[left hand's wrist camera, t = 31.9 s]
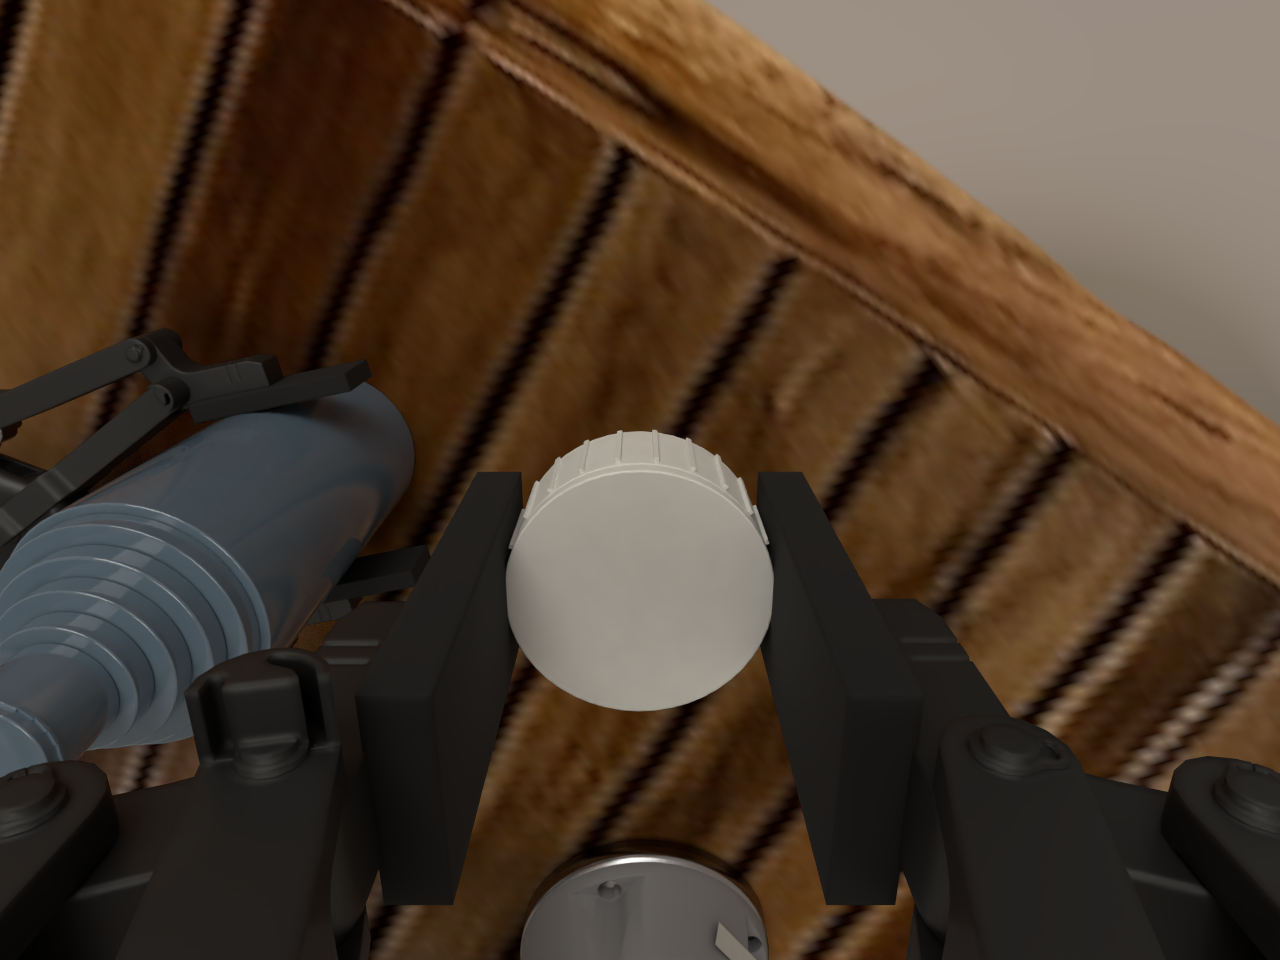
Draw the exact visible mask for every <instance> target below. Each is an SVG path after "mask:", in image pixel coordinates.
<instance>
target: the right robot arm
mask: <svg viewBox="0 0 1280 960" xmlns="http://www.w3.org/2000/svg"><path fill="white" fill-rule="evenodd" d="M139 371H141V373H142V374H143V375H144V376H145V377H146V379H147V380H148V381H149V382H150V383H151V385H150V386H148V387H146V388H147V389H149V390H147V391H146V392H145V393H144V394H142V395H141V396H140V397H139V398H138V399H136V400H135V401H134V402H133V403H131V404H130V405H129V406H128V407H127V408H125V409H124V410H123V411H122V412H120V413H119V414H118V415H117V416H115V417H114V418H113V419H112V420H111V421H109V422H108V423H107V424H106V425H104V426H103V427H102V428H101V429H99V430H98V431H97V432H96V433H95V434H93V435H92V436H91V437H90V438H88V439H87V440H86V441H85V442H83V443H82V444H81V445H80V446H79V447H77V448H76V449H75V450H74V451H72V452H71V453H70V454H69V455H67V456H66V457H65V458H64V459H63V460H61V461H60V462H59V463H58V464H56V465H55V466H54V467H53V468H51V469H50V470H48V471H46V470H44V469H41V468H38V467H36V466H33V465H31V464H28V463H25V462H23V461H20V460H18V459H15V458H12V457H10V456H7V455H4V454H0V571H1V569H2V568H3V566H4V564H5V563H6V561H7V560H8V559H9V558H10V556H11V554H12V552H13V551H14V549H15V547H16V546H17V544H18V543H19V541H20V540H21V539H22V538H23V537H24V536H25V535H26V533H27V532H28V531H29V530H30V529H32V528H33V527H34V526H36V525H37V524H38V523H39V522H41V521H42V520H44V519H46V518H47V517H49V516H51V515H53V514H54V513H56V512H58V511H60V510H61V509H63V508H65V507H67V506H68V505H70V504H72V503H74V502H75V501H77V500H79V499H81V498H83V497H84V496H86V495H88V494H90V493H88V492H87V491H88V490H89V489H90V488H92V487H93V486H94V485H95V484H97V483H98V482H99V481H100V480H102V479H103V478H104V477H105V476H107V475H108V474H109V473H110V472H111V470H112V469H113V468H115V467H116V466H117V465H118V464H120V463H121V462H122V461H123V460H125V459H126V458H127V457H128V456H130V455H131V454H132V453H133V452H135V451H136V450H137V449H138V448H140V447H141V446H142V445H143V444H145V443H146V442H147V441H149V440H150V439H151V438H152V437H154V436H155V435H156V434H157V433H159V432H160V431H161V430H162V429H164V428H165V427H166V426H167V425H169V424H170V423H171V422H172V421H174V420H175V419H176V418H177V417H179V416H180V415H181V414H182V413H184V412H185V411H186V410H187V409H189V410H190V413H191V415H192V418H193V420H194V423H195V424H196V423H201V422H206V421H211V420H216V419H221V418H225V417H230V416H235V415H240V414H245V413H250V412H254V411H259V410H264V409H269V408H274V407H279V406H283V405H288V404H293V403H298V402H303V401H308V400H312V399H317V398H322V397H327V396H332V395H337V394H341V393H346V392H351V391H352V390H354V389H355V388H356V387H358V386H359V385H360V384H362V383H363V382H365V381H366V380H367V379H369V378H370V377H371V372H370V369H369V366H368V363H367V360H366V359H364V360H359V361H355V362H350V363H345V364H340V365H336V366H331V367H326V368H321V369H316V370H312V371H307V372H302V373H297V374H293V375H288V376H283V374H282V371H281V369H280V366H279V363H278V360H277V358H276V356H272V355H267V354H260V355H255V356H250V357H245V358H241V359H236V360H231V361H227V362H222V363H217V364H212V365H200V364H197V363H195V362H194V361H192V360H191V359H190V358H189V357H188V356H187V355H186V354H185V353H184V351H183V350H182V341H181V338H180V337H179V335H178V334H177V333H176V332H174V331H173V330H171V329H166V328H164V329H159V330H156V331H153V332H150V333H146V334H143V335H140V336H137V337H133V338H130V339H127V340H124V341H122V342H120V343H117V344H115V345H113V346H110V347H108V348H106V349H103V350H101V351H99V352H96V353H94V354H92V355H90V356H87V357H85V358H83V359H80V360H78V361H76V362H73V363H71V364H69V365H66V366H64V367H62V368H60V369H57V370H55V371H53V372H50V373H48V374H46V375H43V376H41V377H39V378H36V379H34V380H32V381H30V382H27V383H25V384H23V385H20V386H18V387H16V388H13V389H6V390H0V446H1V444H2V443H3V442H5V441H7V440H10V439H12V438H14V437H15V436H16V434H17V430H18V429H17V428H19V427H21V425H22V420H25V419H27V418H30V417H32V416H35V415H38V414H40V413H43V412H45V411H48V410H50V409H53V408H55V407H57V406H60V405H62V404H64V403H67V402H69V401H71V400H74V399H76V398H78V397H81V396H83V395H85V394H88V393H90V392H92V391H95V390H97V389H100V388H102V387H104V386H107V385H109V384H111V383H114V382H116V381H118V380H121V379H123V378H125V377H128V376H130V375H132V374H135V373H137V372H139ZM430 558H431V557H430V554H429V551H428V548H427V545H421V546H416V547H411V548H405V549H400V550H395V551H390V552H384V553H379V554H374V555H369V556H364V557H358V558H356V559H355V561H354V562H353V563H352V565H351V566H350V567H349V569H348V570H347V571H346V573H345V574H344V575H343V577H342V578H341V579H340V581H339V582H338V583H337V585H336V586H335V587H334V589H333V590H332V591H331V593H330V594H329V595H328V597H327V598H326V599H325V601H324V602H323V603H322V605H321V606H320V607H319V609H318V610H317V611H316V613H315V614H314V615H313V617H312V618H311V619H310V621H309V622H308V623H307V625H310V624H316V623H321V622H326V621H330V620H337V619H340V618H342V617H343V616H344V615H346V614H347V613H349V612H350V611H352V610H353V609H355V608H356V607H357V605H358V604H359V602H360V601H361V599H362V598H363V596H367V595H373V594H378V593H383V592H389V591H394V590H399V589H405V588H410V587H415V585H416V583H417V581H418V579H419V578H420V576H421V574H422V572H423V570H424V569H425V567H426V565H427V563H428V561H429V559H430ZM297 640H298V637H297V638H296V639H295V641H294V642H293V643H292V645H291V646H290V647H289V648H292V647H293V646H294V644H295V643H296V642H297Z"/></svg>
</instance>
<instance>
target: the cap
mask: <svg viewBox="0 0 1280 960" xmlns="http://www.w3.org/2000/svg"><path fill="white" fill-rule="evenodd" d="M768 544H769V541H768V538H767V535H766V532H765V529H764V526H763V524H762V521H761V518H760V515H759V512H758V509H757V507H756V505H754V506H752V503H751V501H750V499H749V497H748V494H747V491H746V488H745V485H744V482H743V480H742V479H741V477H740V478H737V477H736V476H735V475H734V474H733V473H732V471H731V470H730V469H729V468H728V467H727V466H726V465H725V464H724V463H723V462H722V461H721V458H720V456H719V455H717V454H716V455H715V456H714V455H713V454H711V453H710V452H708V451H707V450H705V449H704V448H702V447H700V446H698V445H696V444H694V443H692V442H691V439H689V438H686V440H684V439H681V438H678V437H675V436H672V435H667V434H662V433H657V430H652V432H642V431H639V432H622V430H621V431H617V434H612V435H608V436H604V437H601V438H598V439H595V440H592V441H589V440H586V441H584V445H581V446H579V447H577V448H576V449H574V450H573V451H571V452H570V453H568V454H566V455H565V456H564V457H563V458H560V457H558V458H557V459H556V460H555V463H554V465H553V466H552V467H551V468H550V470H549V471H548V472H547V473H546V474H545V475H544V476H543V477H542V479H541V480H540V482H538V481H536V482H535V483H534V486H533V489H532V491H531V494H530V497H529V500H528V503H527V506H526V509H522V510H521V513H520V516H519V519H518V522H517V524H516V527H515V530H514V533H513V536H512V538H511V541H510V544H509V548H510V549H512V551H511V554H510V557H509V560H508V563H507V568H506V593H507V608H508V620H509V624H510V627H511V629H512V632H513V634H514V636H515V638H516V641H517V642H518V644H519V646H520V647H521V649H522V651H523V652H524V654H525V655H526V657H527V658H528V659H529V660H530V662H531V663H532V664H533V665H534V666H535V668H536V669H537V670H539V671H540V672H541V673H542V674H543V675H544V676H545V677H546V678H547V679H548V680H550V681H551V682H552V683H554V684H555V685H556V686H558V687H559V688H561V689H562V690H564V691H566V692H568V693H569V694H571V695H573V696H575V697H577V698H580V699H582V700H584V701H587V702H589V703H592V704H596V705H599V706H603V707H607V708H612V709H618V710H627V711H654V710H661V709H667V708H673V707H676V706H680V705H684V704H687V703H690V702H692V701H695V700H697V699H700V698H702V697H704V696H706V695H708V694H710V693H712V692H713V691H715V690H717V689H719V688H720V687H721V686H723V685H724V684H726V683H727V682H728V681H730V680H731V679H732V678H733V677H734V676H735V675H736V674H738V673H739V672H740V671H741V670H742V669H743V668H744V667H745V665H746V664H747V663H748V662H749V661H750V659H751V658H752V657H753V656H754V654H755V652H756V651H757V649H758V648H759V646H760V645H761V643H762V641H763V639H764V637H765V634H766V632H767V630H768V627H769V624H770V621H771V614H772V600H773V583H774V572H773V566H772V563H771V560H770V556H769V553H768V550H767V547H766V545H768Z"/></svg>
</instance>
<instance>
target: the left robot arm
mask: <svg viewBox="0 0 1280 960" xmlns="http://www.w3.org/2000/svg"><path fill="white" fill-rule="evenodd" d="M522 509H523V499H522V480H521V472H477V474H476V476H475V478H474V479H473V481H472V483H471V485H470V487H469V488H468V490H467V492H466V494H465V496H464V498H463V499H462V501H461V503H460V505H459V507H458V508H457V510H456V512H455V514H454V516H453V518H452V519H451V521H450V523H449V525H448V527H447V528H446V530H445V532H444V534H443V536H442V538H441V539H440V541H439V543H438V545H437V547H436V548H435V550H434V552H433V554H432V556H431V558H430V559H429V561H428V563H427V565H426V567H425V569H424V570H423V572H422V574H421V576H420V578H419V579H418V581H417V583H416V585H415V587H414V589H413V590H412V592H411V594H410V596H409V598H408V599H407V601H365V602H364V603H362V604H361V605H359V606H358V607H356V608H355V609H353V610H352V611H350V612H349V613H347V614H346V615H344V616H343V617H342V618H340V619H339V620H337V622H336V623H335V625H334V626H333V628H332V629H331V631H330V632H329V634H328V635H327V637H326V638H325V640H324V641H323V646H320V647H319V648H318V650H317V651H316V653H315V652H311V651H307V650H303V649H299V648H270V649H265V650H260V651H255V652H250V653H245V654H242V655H240V656H237V657H235V658H232V659H229V660H227V661H224V662H221V663H219V664H217V665H216V666H214V667H212V668H211V669H209V670H208V671H206V672H205V673H203V674H201V675H200V676H198V677H197V678H196V679H195V680H194V681H193V683H192V684H191V685H190V686H189V687H188V688H187V690H186V691H185V692H184V696H185V700H186V704H187V709H188V713H189V717H190V722H191V726H192V731H193V735H194V739H195V744H196V748H197V753H198V757H199V761H200V765H199V767H198V770H197V772H196V774H195V777H192V778H188V779H184V780H181V781H177V782H174V783H169V784H165V785H160V786H155V787H151V788H146V789H141V790H136V791H132V792H127V793H122V794H118V795H113V796H112V793H111V790H110V786H109V783H108V779H107V775H106V774H105V773H104V772H103V771H102V770H101V769H100V768H99V767H97V766H96V765H95V764H93V763H87V762H82V761H76V760H66V761H56V762H46V763H41V764H37V765H32V766H30V767H28V768H26V767H25V768H22V769H19V770H16V771H13V772H10V773H8V774H6V775H5V776H3V777H1V778H0V960H368V958H369V949H370V940H371V938H370V931H369V924H368V917H367V910H366V901H367V899H368V896H369V893H370V891H371V888H372V885H373V883H374V880H375V877H376V875H377V872H378V869H379V871H380V878H381V885H382V892H383V899H384V905H453V903H454V899H455V895H456V891H457V887H458V883H459V879H460V875H461V872H462V868H463V864H464V860H465V856H466V852H467V848H468V844H469V840H470V836H471V833H472V829H473V825H474V821H475V817H476V813H477V809H478V805H479V801H480V797H481V793H482V790H483V786H484V782H485V778H486V774H487V770H488V766H489V762H490V758H491V754H492V751H493V747H494V743H495V739H496V735H497V731H498V727H499V723H500V719H501V715H502V712H503V708H504V704H505V700H506V696H507V692H508V688H509V684H510V680H511V676H512V672H513V669H514V665H515V661H516V657H517V653H518V649H519V644H518V642H517V641H516V638H515V636H514V634H513V632H512V629H511V627H510V624H509V620H508V608H507V593H506V568H507V563H508V560H509V557H510V554H511V551H512V549H510V548H509V544H510V541H511V538H512V536H513V533H514V530H515V527H516V524H517V522H518V519H519V516H520V513H521V510H522ZM757 509H758V512H759V515H760V518H761V521H762V524H763V526H764V529H765V532H766V535H767V538H768V541H769V544H768V545H766V547H767V550H768V553H769V556H770V560H771V563H772V566H773V572H774V583H773V600H772V614H771V621H770V624H769V627H768V630H767V632H766V634H765V637H764V639H763V641H762V643H761V645H760V647H761V651H762V655H763V659H764V663H765V667H766V671H767V675H768V678H769V682H770V686H771V690H772V694H773V698H774V702H775V706H776V710H777V714H778V717H779V721H780V725H781V729H782V733H783V737H784V741H785V745H786V749H787V753H788V757H789V760H790V764H791V768H792V772H793V776H794V780H795V784H796V788H797V792H798V796H799V799H800V803H801V807H802V811H803V815H804V819H805V823H806V827H807V831H808V835H809V839H810V842H811V846H812V850H813V854H814V858H815V862H816V866H817V870H818V874H819V878H820V881H821V885H822V889H823V893H824V897H825V901H826V905H895V902H896V895H897V888H898V881H899V874H900V867H902V870H903V872H904V875H905V877H906V880H907V883H908V885H909V888H910V891H911V893H912V896H913V899H914V901H915V904H914V910H913V917H912V923H911V930H910V936H909V943H908V949H907V956H906V960H1280V774H1279V773H1277V772H1275V771H1274V770H1272V769H1270V768H1267V767H1264V766H1261V765H1258V764H1252V763H1251V762H1247V761H1243V760H1238V759H1232V758H1222V757H1212V756H1206V757H1200V758H1194V759H1189V760H1186V761H1184V762H1183V763H1182V764H1181V765H1180V766H1179V767H1177V768H1176V769H1175V770H1174V773H1173V776H1172V780H1171V784H1170V787H1169V791H1168V792H1165V791H1160V790H1156V789H1151V788H1146V787H1141V786H1137V785H1132V784H1127V783H1122V782H1118V781H1113V780H1108V779H1105V778H1101V777H1097V776H1094V775H1090V774H1086V773H1084V771H1083V768H1082V766H1081V764H1080V762H1079V761H1078V759H1077V758H1076V757H1075V755H1074V754H1073V752H1072V751H1071V750H1070V748H1069V747H1068V746H1067V745H1066V744H1064V743H1063V742H1062V741H1060V740H1059V739H1058V738H1056V737H1055V736H1054V735H1052V734H1051V733H1049V732H1048V731H1046V730H1044V729H1042V728H1040V727H1037V726H1035V725H1033V724H1031V723H1028V722H1026V721H1024V720H1021V719H1016V718H1012V717H1010V716H1009V714H1008V713H1007V711H1006V710H1005V708H1004V707H1003V705H1002V704H1001V703H1000V701H999V700H998V698H997V697H996V695H995V694H994V692H993V691H992V689H991V688H990V687H989V685H988V684H987V682H986V681H985V679H984V678H983V676H982V675H981V673H980V672H979V670H978V669H977V668H976V666H975V665H974V663H973V662H972V661H969V656H968V654H967V653H966V652H965V650H964V649H963V647H962V646H961V644H960V643H957V638H956V637H955V636H954V634H953V633H952V631H951V630H950V628H949V627H948V625H947V624H946V622H945V621H944V619H943V618H942V617H941V616H939V615H938V614H936V613H935V612H933V611H932V610H930V609H929V608H927V607H926V606H924V605H923V604H922V603H920V602H919V601H917V600H916V599H871V597H870V595H869V593H868V591H867V590H866V588H865V586H864V584H863V582H862V581H861V579H860V577H859V575H858V573H857V571H856V570H855V568H854V566H853V564H852V562H851V560H850V559H849V557H848V555H847V553H846V551H845V550H844V548H843V546H842V544H841V542H840V540H839V539H838V537H837V535H836V533H835V531H834V530H833V528H832V526H831V524H830V522H829V520H828V519H827V517H826V515H825V513H824V511H823V509H822V508H821V506H820V504H819V502H818V500H817V499H816V497H815V495H814V493H813V491H812V489H811V488H810V486H809V484H808V482H807V480H806V479H805V477H804V475H803V473H802V472H758V488H757ZM520 958H521V960H768V959H769V946H768V939H767V933H766V927H765V922H764V916H763V912H762V909H761V905H760V903H759V901H758V899H757V897H756V895H755V893H754V892H753V890H752V888H751V887H750V886H749V884H748V883H747V882H746V881H745V880H744V879H743V878H742V876H741V875H740V874H739V873H737V872H736V871H735V870H734V869H733V868H732V867H730V866H729V865H727V864H726V863H724V862H723V861H721V860H720V859H718V858H716V857H714V856H713V855H711V854H708V853H706V852H704V851H702V850H699V849H696V848H693V847H690V846H687V845H683V844H679V843H673V842H668V841H659V840H630V841H622V842H616V843H611V844H607V845H603V846H600V847H596V848H593V849H591V850H588V851H586V852H583V853H581V854H579V855H577V856H575V857H573V858H571V859H570V860H568V861H567V862H565V863H563V864H562V865H561V866H559V867H558V868H557V869H555V870H554V871H553V872H552V873H551V874H550V875H549V876H548V877H547V878H546V879H545V880H544V881H543V882H542V883H541V885H540V886H539V887H538V889H537V890H536V892H535V893H534V895H533V897H532V899H531V901H530V903H529V906H528V908H527V912H526V916H525V921H524V927H523V933H522V940H521V949H520Z"/></svg>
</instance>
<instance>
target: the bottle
mask: <svg viewBox="0 0 1280 960" xmlns="http://www.w3.org/2000/svg"><path fill="white" fill-rule="evenodd" d="M414 462H415V454H414V445H413V440H412V437H411V434H410V431H409V428H408V426H407V424H406V422H405V420H404V418H403V417H402V415H401V414H400V412H399V410H398V409H397V408H396V407H395V406H394V404H393V403H392V402H391V401H390V400H389V399H388V398H387V397H386V396H385V395H384V394H382V393H381V392H380V391H378V390H377V389H376V388H374V387H373V386H371V385H369V384H367V383H366V382H363V383H362V384H360V385H359V386H358V387H356V388H355V389H354V390H352V391H351V392H346V393H341V394H337V395H332V396H327V397H322V398H317V399H312V400H308V401H303V402H298V403H293V404H288V405H283V406H279V407H274V408H269V409H264V410H259V411H254V412H250V413H245V414H240V415H235V416H230V417H225V418H221V419H220V420H218V421H216V422H214V423H213V424H211V425H209V426H207V427H206V428H204V429H202V430H200V431H199V432H197V433H195V434H193V435H192V436H190V437H188V438H186V439H185V440H183V441H181V442H179V443H178V444H176V445H174V446H172V447H170V448H169V449H167V450H165V451H163V452H162V453H160V454H158V455H156V456H155V457H153V458H151V459H149V460H148V461H146V462H144V463H142V464H141V465H139V466H137V467H135V468H134V469H132V470H130V471H128V472H126V473H125V474H123V475H121V476H119V477H118V478H116V479H114V480H112V481H111V482H109V483H107V484H105V485H104V486H102V487H100V488H98V489H97V490H95V491H93V492H91V493H90V494H88V495H86V496H84V497H83V498H81V499H79V500H77V501H75V502H74V503H72V504H70V505H68V506H67V507H65V508H63V509H61V510H60V511H58V512H56V513H54V514H53V515H51V516H49V517H47V518H46V519H44V520H42V521H41V522H39V523H38V524H37V525H36V526H34V527H33V528H32V529H30V530H29V531H28V532H27V533H26V535H25V536H24V537H23V538H22V539H21V540H20V541H19V543H18V544H17V546H16V547H15V549H14V551H13V552H12V554H11V556H10V558H9V559H8V560H7V561H6V563H5V564H4V566H3V568H2V569H1V571H0V778H1V777H3V776H5V775H6V774H8V773H10V772H13V771H16V770H19V769H22V768H25V767H26V768H28V767H30V766H32V765H37V764H41V763H46V762H56V761H66V760H76V761H77V760H78V759H79V758H80V757H81V756H82V755H83V754H84V752H85V751H86V750H94V749H99V748H118V747H123V746H134V745H144V744H161V743H168V742H173V741H178V740H182V739H185V738H188V737H191V736H194V735H193V731H192V726H191V722H190V717H189V713H188V709H187V704H186V700H185V696H184V692H185V691H186V690H187V688H188V687H189V686H190V685H191V684H192V683H193V681H194V680H195V679H196V678H197V677H198V676H200V675H201V674H203V673H205V672H206V671H208V670H209V669H211V668H212V667H214V666H216V665H217V664H219V663H221V662H224V661H227V660H229V659H232V658H235V657H237V656H240V655H242V654H245V653H250V652H255V651H260V650H265V649H270V648H289V647H290V646H291V645H292V643H293V642H294V641H295V639H296V638H297V637H298V635H299V634H300V633H301V631H302V630H303V629H304V627H305V626H306V625H307V623H308V622H309V621H310V619H311V618H312V617H313V615H314V614H315V613H316V611H317V610H318V609H319V607H320V606H321V605H322V603H323V602H324V601H325V599H326V598H327V597H328V595H329V594H330V593H331V591H332V590H333V589H334V587H335V586H336V585H337V583H338V582H339V581H340V579H341V578H342V577H343V575H344V574H345V573H346V571H347V570H348V569H349V567H350V566H351V565H352V563H353V562H354V561H355V559H356V558H357V557H358V555H359V554H360V553H361V551H362V550H363V549H364V547H365V546H366V545H367V543H368V542H369V541H370V539H371V538H372V537H373V535H374V534H375V533H376V531H377V530H378V529H379V527H380V526H381V525H382V523H383V522H384V520H385V519H386V518H387V516H388V515H389V514H390V512H391V511H392V510H393V508H394V507H395V506H396V504H397V503H398V502H399V500H400V499H401V498H402V496H403V495H404V493H405V492H406V490H407V488H408V486H409V484H410V481H411V479H412V475H413V471H414Z"/></svg>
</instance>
